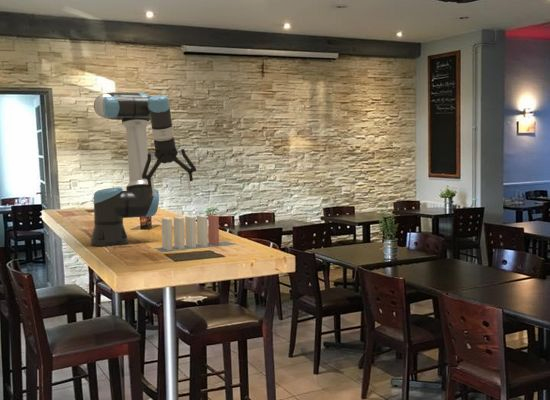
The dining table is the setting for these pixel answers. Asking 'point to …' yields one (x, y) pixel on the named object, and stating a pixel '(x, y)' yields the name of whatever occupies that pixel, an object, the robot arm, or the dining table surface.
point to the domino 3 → (190, 231)
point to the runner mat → (196, 246)
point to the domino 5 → (213, 229)
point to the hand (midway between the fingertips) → (172, 192)
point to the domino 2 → (179, 232)
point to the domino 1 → (167, 233)
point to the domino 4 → (202, 231)
